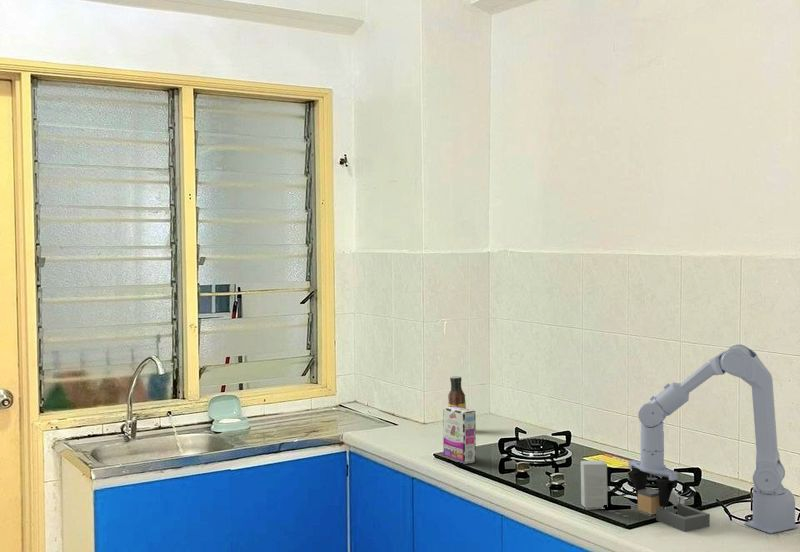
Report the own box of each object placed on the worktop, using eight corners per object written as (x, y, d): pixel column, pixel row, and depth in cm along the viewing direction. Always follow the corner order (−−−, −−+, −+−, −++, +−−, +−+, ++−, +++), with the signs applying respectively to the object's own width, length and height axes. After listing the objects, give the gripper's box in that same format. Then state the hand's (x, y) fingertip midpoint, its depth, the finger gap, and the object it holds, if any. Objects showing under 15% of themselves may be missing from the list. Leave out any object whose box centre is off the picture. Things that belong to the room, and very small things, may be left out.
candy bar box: (476, 463, 279) (476, 410, 278) (464, 465, 276) (463, 412, 275) (455, 455, 288) (454, 405, 288) (442, 458, 286) (442, 407, 285)
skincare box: (603, 505, 234) (603, 459, 234) (607, 510, 230) (607, 464, 229) (580, 505, 234) (580, 460, 233) (584, 510, 230) (584, 464, 229)
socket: (681, 512, 227) (681, 500, 227) (715, 525, 217) (715, 513, 217) (650, 518, 223) (650, 506, 223) (684, 531, 213) (684, 519, 212)
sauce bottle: (467, 429, 326) (466, 375, 325) (466, 433, 320) (466, 378, 319) (449, 429, 327) (448, 375, 326) (448, 433, 321) (447, 378, 320)
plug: (649, 508, 231) (649, 487, 231) (663, 513, 227) (663, 491, 227) (637, 511, 229) (637, 490, 228) (651, 516, 225) (651, 494, 225)
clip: (685, 513, 225) (685, 497, 225) (679, 513, 225) (679, 497, 225) (665, 497, 239) (665, 482, 238) (659, 497, 239) (659, 482, 238)
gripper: (685, 452, 223) (685, 506, 224) (641, 441, 236) (641, 492, 236) (666, 456, 220) (666, 511, 220) (622, 445, 232) (622, 497, 233)
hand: (652, 502), depth 228 cm, fingers open, 7 cm apart
